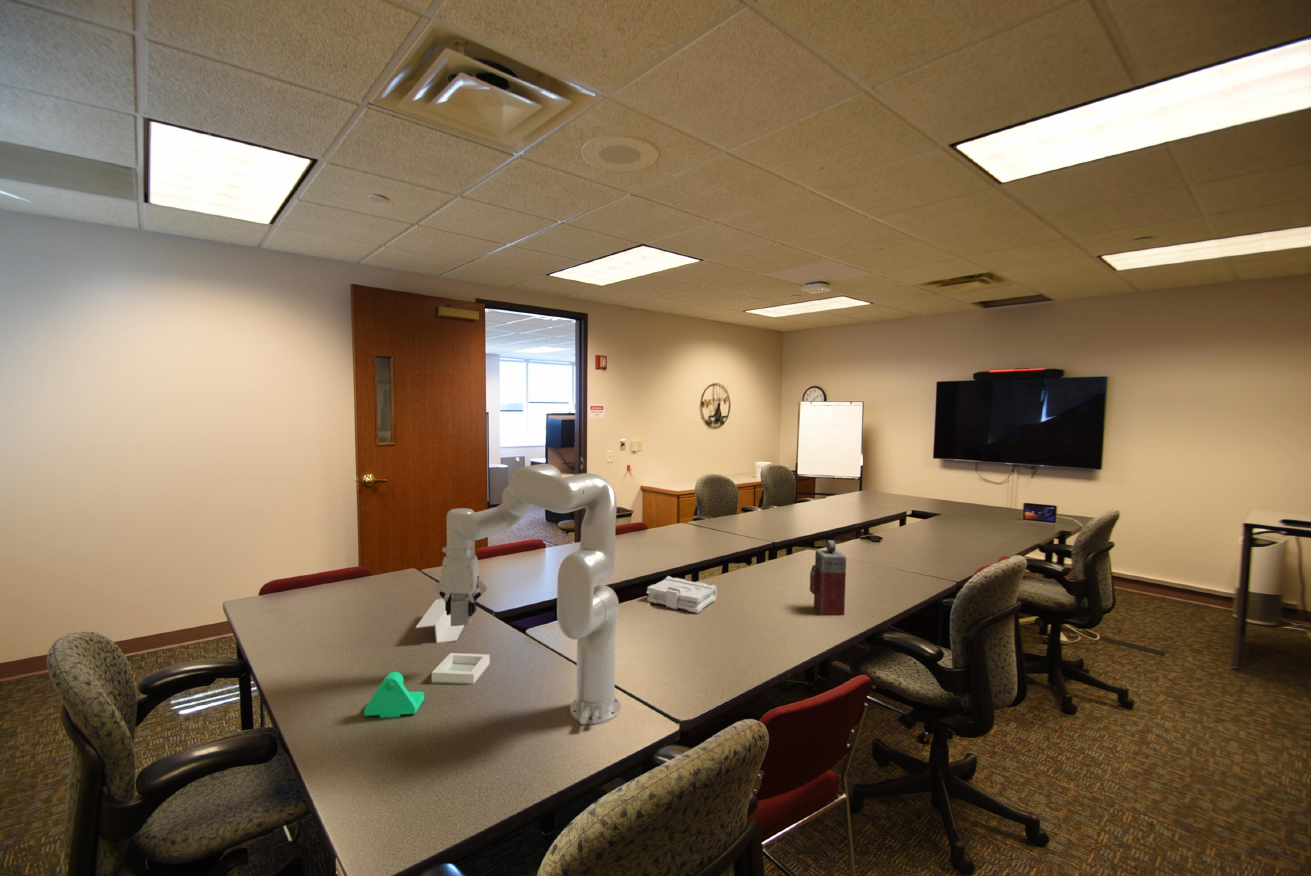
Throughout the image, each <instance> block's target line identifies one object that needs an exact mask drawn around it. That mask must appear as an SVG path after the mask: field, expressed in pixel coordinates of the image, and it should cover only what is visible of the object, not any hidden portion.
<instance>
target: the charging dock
mask: <svg viewBox="0 0 1311 876" xmlns="http://www.w3.org/2000/svg"><path fill="white" fill-rule="evenodd" d="M490 656H491V655H490V654H487V653H486V654H483V653H463V652H462V653H461V652H458V653H456V652H450V653H449V654H448V655H447V656H446V657H445V658H444V659H443V660H442V661H441V662H440V663H439V664H438V665H437V666H436V667H435V668H434V669H433V671H432V672H431V684H457V685H460V684H461V685H462V684H463V685H475V683H476V682H477V681H478V680H479V678H480V677H481V676H482V675H483V673H484V672H485V671H486V670H487V668H488V667H489V665H490V664H491V662H490V661H491V659H490V658H491V657H490Z"/></svg>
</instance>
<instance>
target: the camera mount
mask: <svg viewBox="0 0 1311 876" xmlns="http://www.w3.org/2000/svg"><path fill="white" fill-rule="evenodd" d="M404 681H405V679H404V676H403V675H402V674H401V673H400V672H397V671H392V672H390V673H388V674H387V675H386V676H385V678H384V679H383V680H382V681H381V683H379V684H380V685H379V686H378V688H377V689H376V691H375V692H374V694H373V695H372V697H371V698H370V700H369V701H368V703H367V704H366V706H365V708H364V710H363V711H364V713H363V714H364V716H365V717H366V716H379V718H380V719H384V718H385V717H386V718H387V719H388V718H398V717H399V718H400V717H401V716H402V715H411V714H413V715H414V714H416V713H417V712H418V710H419V709H420V706H421V705H422V703H423V702H424V700H425V692H424V691H409V690H408V689H407V688H406V686H405V685H404Z"/></svg>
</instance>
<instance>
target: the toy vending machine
mask: <svg viewBox="0 0 1311 876" xmlns="http://www.w3.org/2000/svg"><path fill="white" fill-rule="evenodd" d="M825 547H826V549H817V550H815V556H814V557H815V558H814V559H815V561H814V565H812V566H811V568H810V569H811V570H810V574H809V591H810V592H811V594H812V595H814V596H813V608H814V609H815V611H816V612H817V613H818V614H819V615H820V616H823V617H825V616H827V617H828V616H829V617H830V616H845V606H846V605H845V604H846V602H845V601H846V581H847V579H846V575H847V574H846V572H847V556H846V555H845V554H843V553H842V552H841V551H839V550H838V549H837V546H836V541H835V540H830V539H827V541H826V543H825Z"/></svg>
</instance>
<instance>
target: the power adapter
mask: <svg viewBox="0 0 1311 876" xmlns="http://www.w3.org/2000/svg"><path fill="white" fill-rule="evenodd" d="M469 602H470V599H469V596H468V594H453V595H452V598H451V626H461V625H464V626H469V625H471V624H472V616H468V603H469Z"/></svg>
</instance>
